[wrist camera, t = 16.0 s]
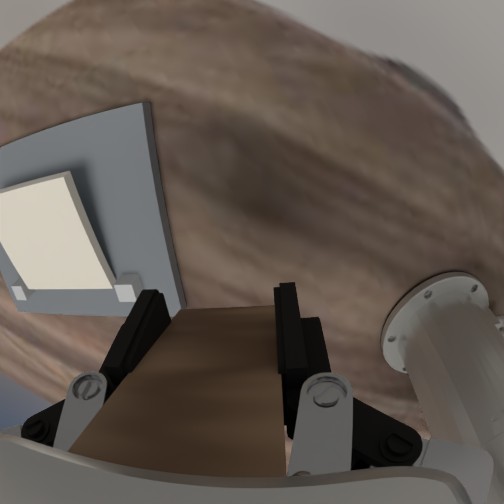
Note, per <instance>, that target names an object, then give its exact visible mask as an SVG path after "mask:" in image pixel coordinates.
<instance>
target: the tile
mask: <svg viewBox="0 0 504 504" xmlns="http://www.w3.org/2000/svg"><path fill="white" fill-rule="evenodd" d="M0 242H1V244H2V246H3V248H4V249H5V251H6V253H7V255H8V256H9V258H10V260H11V262H12V263H13V265H14V267H15V268H16V270H17V271H18V273H19V275H20V276H21V278H22V279H23V281H24V283H25V284H26V286H27V287H28V289H113V287H114V284H115V282H116V279H115V277H114V275H113V273H112V271H111V269H110V267H109V265H108V263H107V261H106V258H105V256H104V254H103V252H102V250H101V247H100V245H99V243H98V241H97V238H96V236H95V234H94V231H93V229H92V227H91V224H90V222H89V220H88V217H87V215H86V212H85V210H84V207H83V205H82V202H81V199H80V197H79V194H78V192H77V189H76V186H75V184H74V181H73V178H72V175H71V172H70V171H66V172H62V173H58V174H54V175H50V176H46V177H42V178H38V179H35V180H31V181H27V182H24V183H20V184H17V185H14V186H10V187H7V188H4V189H0Z"/></svg>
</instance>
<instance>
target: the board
mask: <svg viewBox="0 0 504 504" xmlns="http://www.w3.org/2000/svg"><path fill="white" fill-rule="evenodd" d="M66 171H70V172H71V175H72V178H73V181H74V184H75V186H76V189H77V192H78V194H79V197H80V199H81V202H82V205H83V207H84V210H85V212H86V215H87V217H88V220H89V222H90V224H91V227H92V229H93V231H94V234H95V236H96V238H97V241H98V243H99V245H100V247H101V250H102V252H103V254H104V256H105V258H106V261H107V263H108V265H109V267H110V269H111V271H112V273H113V275H114V277H115V279H116V282H115V284H114V287H113V289H28V287H27V286H26V284H25V283H24V281H23V279H22V278H21V276H20V275H19V273H18V271H17V270H16V268H15V267H14V265H13V263H12V262H11V260H10V258H9V256H8V255H7V253H6V251H5V249H4V248H3V246H2V244H1V242H0V271H1V273H2V276H3V278H4V281H5V283H6V285H7V288H8V290H9V292H10V294H11V297H12V299H13V301H14V303H15V305H16V307H17V309H18V311H19V312H31V313H47V314H66V315H91V316H128V315H129V313H130V311H131V309H132V308H133V306H134V304H135V302H136V300H137V298H138V296H139V294H140V293H141V291H142V290H144V289H157V290H158V291H159V293H163V294H164V297H165V301H166V304H167V308H168V311H169V315H170V317H171V316H175V315H176V314H177V313H178V311H179V310H180V309H186V306H187V305H186V301H185V297H184V292H183V288H182V284H181V279H180V275H179V270H178V266H177V261H176V257H175V252H174V247H173V242H172V237H171V232H170V227H169V222H168V217H167V211H166V206H165V201H164V195H163V189H162V183H161V177H160V171H159V165H158V159H157V152H156V145H155V139H154V131H153V124H152V116H151V108H150V102H144V103H138V104H133V105H129V106H125V107H121V108H116V109H112V110H109V111H105V112H101V113H97V114H94V115H90V116H87V117H83V118H80V119H77V120H73V121H70V122H67V123H64V124H61V125H58V126H55V127H52V128H49V129H46V130H43V131H40V132H38V133H35V134H32V135H30V136H27V137H24V138H22V139H19V140H17V141H14V142H12V143H9V144H7V145H5V146H2V147H0V189H4V188H7V187H10V186H14V185H17V184H20V183H24V182H27V181H31V180H35V179H38V178H42V177H46V176H50V175H54V174H58V173H62V172H66Z"/></svg>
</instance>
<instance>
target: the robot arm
mask: <svg viewBox="0 0 504 504" xmlns="http://www.w3.org/2000/svg"><path fill="white" fill-rule="evenodd" d="M279 285H280V287H274V302H275V321H276V341H277V362H278V374H281V381H282V398H283V416H284V425H287V434H288V437H289V438H291V439H292V440H293V444H292V450H291V455H290V461H289V466H288V472H287V476H286V477H214V476H199V475H187V474H177V473H168V472H161V471H154V470H147V469H141V468H135V467H129V466H124V465H119V464H114V463H110V462H105V461H101V460H96V459H92V458H88V457H84V456H81V455H77V454H73V453H70V452H67V451H68V450H69V449H70V447H71V446H72V445H73V443H74V442H75V441H76V440H77V438H78V437H79V436H80V434H81V433H82V432H83V431H84V429H85V428H86V427H87V425H88V424H89V423H90V422H91V420H92V419H93V418H94V416H95V415H96V414H97V413H98V411H99V410H100V409H101V407H102V406H103V405H104V404H105V402H106V401H107V400H108V399H109V397H110V396H111V395H112V393H113V392H114V391H115V390H116V388H117V387H118V386H119V385H120V383H121V382H122V381H123V380H124V378H125V377H126V376H127V375H128V373H132V371H133V370H134V369H135V368H136V366H137V365H138V364H139V362H140V361H141V360H142V359H143V357H144V356H145V355H146V354H147V352H148V351H149V350H150V348H151V347H152V346H153V345H154V343H155V342H156V341H157V340H158V338H159V337H160V336H161V335H162V333H163V332H164V331H165V330H166V328H167V327H168V326H169V325H170V323H171V318H170V315H169V311H168V308H167V304H166V301H165V297H164V294H163V293H159V291H158V290H157V289H144V290H142V291H141V293H140V294H139V296H138V298H137V300H136V302H135V304H134V306H133V308H132V309H131V311H130V313H129V315H128V317H127V319H126V321H125V323H124V324H123V325H122V326H121V328H120V330H119V332H118V334H117V336H116V338H115V340H114V342H113V344H112V346H111V348H110V350H109V352H108V354H107V356H106V358H105V360H104V362H103V364H102V366H101V368H100V370H99V372H97V371H88V372H84V373H82V374H80V375H78V376H77V377H76V378H74V380H73V381H72V382H71V384H70V386H69V389H68V392H67V395H66V399H64V400H62V401H60V402H58V403H56V404H54V405H53V406H51V407H49V408H47V409H45V410H43V411H41V412H39V413H37V414H35V415H33V416H31V417H30V418H28V419H27V420H26V422H25V423H24V425H23V427H22V426H21V425H16V426H12V427H9V428H6V429H1V430H0V504H504V328H503V327H504V314H503V315H499V316H497V317H496V316H495V315H494V314H493V313H492V311H491V310H490V309H489V298H488V294H487V291H486V289H485V287H484V286H483V285H482V284H481V282H480V281H479V280H478V279H476V278H475V277H474V276H473V275H470V274H468V273H464V272H449V273H444V274H441V275H438V276H435V277H433V278H431V279H429V280H427V281H425V282H423V283H422V284H420V285H419V286H417V287H416V288H414V289H413V290H412V291H411V292H409V293H408V294H407V295H406V296H405V297H404V298H403V299H402V300H401V301H400V302H399V303H398V304H397V305H396V307H395V308H394V309H393V311H392V312H391V314H390V315H389V317H388V319H387V321H386V323H385V325H384V328H383V331H382V335H381V348H382V352H383V355H384V357H385V360H386V362H387V363H388V364H389V365H390V367H392V368H393V369H395V370H396V371H399V372H402V373H408V375H409V378H410V380H411V383H412V385H413V388H414V391H415V393H416V396H417V398H418V401H419V404H420V406H421V409H422V412H423V414H424V417H425V420H426V423H427V426H428V428H429V431H430V434H431V438H430V440H427V439H423V438H421V436H420V435H419V434H418V433H417V431H415V430H414V429H413V428H411V427H409V426H407V425H405V424H403V423H401V422H399V421H397V420H395V419H393V418H392V417H390V416H388V415H386V414H384V413H382V412H380V411H378V410H376V409H374V408H372V407H371V406H369V405H367V404H365V403H363V402H361V401H359V400H358V399H356V398H354V397H353V390H352V386H351V384H350V383H349V381H348V380H347V379H345V378H344V377H343V376H341V375H338V374H336V373H331V368H330V364H329V359H328V354H327V349H326V345H325V340H324V336H323V331H322V327H321V322H320V319H319V317H311V318H300V311H299V305H298V299H297V292H296V286H295V282H289V283H279ZM499 328H503V329H499Z"/></svg>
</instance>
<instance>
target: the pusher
mask: <svg viewBox="0 0 504 504" xmlns="http://www.w3.org/2000/svg"><path fill="white" fill-rule="evenodd" d="M67 452H70V453H73V454H77V455H81V456H84V457H88V458H92V459H96V460H101V461H105V462H110V463H114V464H119V465H124V466H129V467H135V468H141V469H147V470H154V471H161V472H168V473H177V474H187V475H199V476H214V477H286V455H285V435H284V416H283V398H282V381H281V374H278V362H277V341H276V321H275V305H271V306H253V307H232V308H206V309H180V310H179V311H178V313H177V314H176V315H175V316H174V317H173V319H172V320H171V323H170V325H169V326H168V327H167V328H166V330H165V331H164V332H163V333H162V335H161V336H160V337H159V338H158V340H157V341H156V342H155V343H154V345H153V346H152V347H151V348H150V350H149V351H148V352H147V354H146V355H145V356H144V357H143V359H142V360H141V361H140V362H139V364H138V365H137V366H136V368H135V369H134V370H133V371H132V373H128V375H127V376H126V377H125V378H124V380H123V381H122V382H121V383H120V385H119V386H118V387H117V388H116V390H115V391H114V392H113V393H112V395H111V396H110V397H109V399H108V400H107V401H106V402H105V404H104V405H103V406H102V407H101V409H100V410H99V411H98V413H97V414H96V415H95V416H94V418H93V419H92V420H91V422H90V423H89V424H88V425H87V427H86V428H85V429H84V431H83V432H82V433H81V434H80V436H79V437H78V438H77V440H76V441H75V442H74V443H73V445H72V446H71V447H70V449H69V450H68V451H67Z"/></svg>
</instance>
